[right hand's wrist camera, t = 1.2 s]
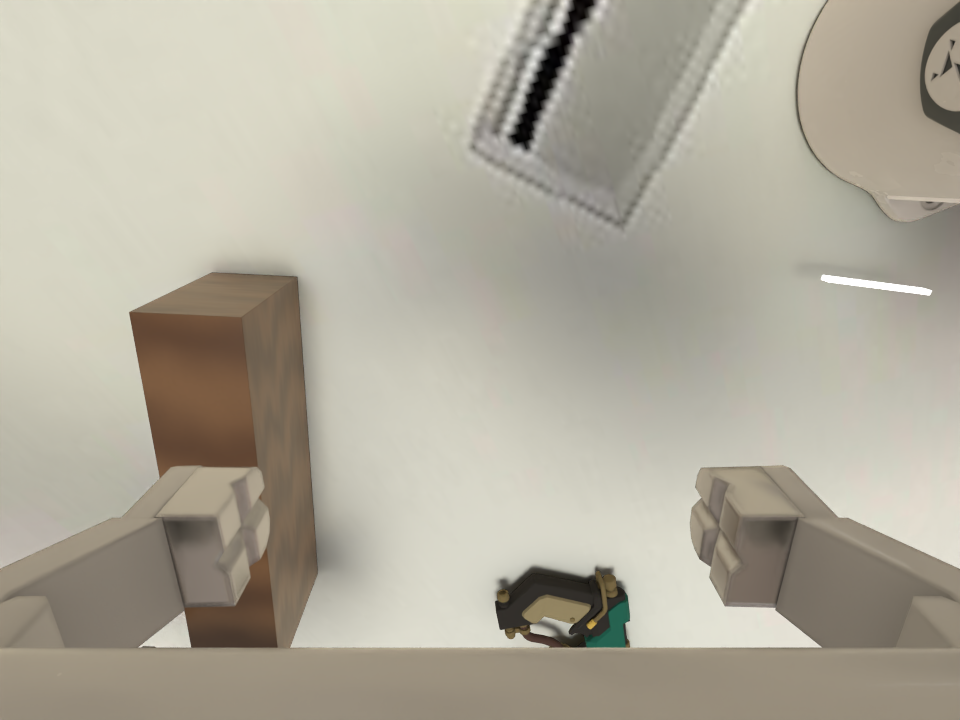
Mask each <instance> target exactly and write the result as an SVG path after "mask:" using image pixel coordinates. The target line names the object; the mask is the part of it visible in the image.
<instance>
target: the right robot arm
mask: <svg viewBox="0 0 960 720" xmlns="http://www.w3.org/2000/svg"><path fill="white" fill-rule="evenodd" d="M798 109H799V116H800V121H801V125H802V129H803V132H804V134H805V137H806V139H807V141H808V144H809V146H810V147H811V149H812V151H813V152H814V154H815V155H816V157H817V158H818V159H819V160H820V162H821V163H822V164H823V165H824V166H825V167H826V168H827V169H828V170H830V171H831V172H832V173H833V174H835V175H836V176H838V177H839V178H841V179H843V180H844V181H846V182H849V183H851V184H853V185H855V186H858V187H860V188H862V189H864V190H865V191H867V192H868V193H870V194H871V195H872V197H873V198H874V200H875V201H876V202H877V204H878V205H879V207H880V208H881V209H882V210H883V212H884V213H885V214H886V215H887V216H888V217H889V218H891V219H892V220H894V221H901V222H912V221H916V220H919V219H922V218H925V217H927V216H930V215H932V214H935V213H937V212H940V211H942V210H945V209H947V208H950V207H953V206H955V205H958V204H960V0H828V2H827V3H826V5H825V6H824V8H823V10H822V11H821V13H820V15H819V17H818V18H817V20H816V22H815V25H814V27H813V29H812V31H811V33H810V36H809V38H808V41H807V44H806V47H805V50H804V53H803V57H802V61H801V66H800V72H799V79H798ZM821 280H824V281H826V282H831V283H839V284H847V285H855V286H862V287H870V288H878V289H886V290H893V291H901V292H909V293H916V294H924V295H930V294H931V290H928V289H925V288H919V287H911V286H904V285H896V284H888V283H881V282H873V281H865V280H858V279H850V278H842V277H835V276H827V275H823V276H822V278H821ZM264 488H265V486H264V481H263V476H262V472H261V471H260V470H259V469H258V468H257V467H239V466H201V465H197V466H175V467H171V468H170V469H169V470H168V471H167V472H166V473H165V474H164V475H163V476H162V477H161V478H160V479H159V480H158V481H157V482H156V483H155V484H154V485H153V486H152V487H151V488H150V489H149V490H148V491H147V492H146V493H145V494H144V495H143V496H142V497H141V498H140V499H139V500H138V501H137V502H136V503H135V504H134V505H133V506H132V507H131V508H130V509H129V511H128V512H127V513H126V514H125V515H124V516H123V517H122V518H111V519H109V520H107V521H104V522H102V523H100V524H98V525H96V526H93V527H91V528H89V529H87V530H85V531H82V532H80V533H78V534H76V535H74V536H71V537H69V538H67V539H65V540H63V541H60V542H58V543H56V544H54V545H52V546H49V547H47V548H45V549H43V550H41V551H38V552H36V553H34V554H32V555H30V556H27V557H25V558H23V559H21V560H19V561H16V562H14V563H12V564H10V565H8V566H5V567H3V568H1V569H0V720H960V569H959V568H956V567H954V566H952V565H950V564H948V563H945V562H943V561H941V560H939V559H937V558H935V557H932V556H930V555H928V554H926V553H924V552H921V551H919V550H917V549H915V548H913V547H910V546H908V545H906V544H904V543H902V542H899V541H897V540H895V539H893V538H891V537H888V536H886V535H884V534H882V533H880V532H878V531H875V530H873V529H871V528H869V527H867V526H864V525H862V524H860V523H858V522H856V521H853V520H851V519H849V518H838V517H837V516H836V515H835V514H834V513H833V511H832V510H831V509H830V508H829V507H828V506H827V505H826V504H825V503H824V502H823V501H822V500H821V499H820V498H819V497H818V496H817V495H816V494H815V493H814V492H813V491H812V490H811V489H810V488H809V487H808V486H807V485H806V484H805V483H804V482H803V481H802V480H801V479H800V478H799V477H798V476H797V475H796V474H795V473H794V472H793V470H792V469H791V468H789V467H786V466H784V465H775V466H750V467H710V468H701V469H700V471H699V473H698V475H697V480H696V486H695V488H696V489H697V491H698V493H699V494H700V496H701V499H700V500H699V501H698V502H697V503H696V504H695V505H694V506H693V507H692V510H691V518H690V531H691V539H692V543H693V546H694V549H695V551H696V553H697V555H698V557H699V559H700V560H701V561H703V562H704V563H706V564H707V565H709V566H710V567H711V571H710V576H709V578H710V580H711V581H712V583H713V585H714V587H715V589H716V591H717V593H718V594H719V596H720V598H721V600H722V602H723V604H724V605H725V606H732V607H769V608H776V609H775V610H776V611H777V612H779V613H780V614H781V615H782V616H784V617H785V618H786V619H787V620H789V621H790V622H791V623H792V624H794V625H795V626H796V627H797V628H799V629H800V630H801V631H802V632H804V633H805V634H806V635H807V636H809V637H810V638H811V639H812V640H814V641H815V642H816V643H817V644H819V645H820V646H821V647H822V648H138V647H139V646H140V645H141V644H143V643H144V642H145V641H146V640H148V639H149V638H150V637H152V636H153V635H154V634H155V633H157V632H158V631H159V630H160V629H162V628H163V627H164V626H165V625H167V624H168V623H169V622H170V621H172V620H173V619H174V618H175V617H177V616H178V615H179V614H180V613H182V612H183V611H184V608H191V607H226V606H236V604H237V602H238V600H239V598H240V596H241V594H242V593H243V591H244V589H245V587H246V585H247V583H248V581H249V580H250V578H251V576H250V571H249V567H250V566H251V565H253V564H254V563H256V562H257V561H259V560H260V559H261V557H262V555H263V553H264V551H265V549H266V546H267V542H268V538H269V533H270V516H269V510H268V507H267V506H266V505H265V504H264V503H263V502H262V501H261V500H260V499H259V496H260V494H261V493H262V491H263V489H264Z"/></svg>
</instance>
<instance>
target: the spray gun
mask: <svg viewBox="0 0 960 720" xmlns="http://www.w3.org/2000/svg"><path fill="white" fill-rule="evenodd" d="M595 575H596V581H595V580H592V579H591V580H590V581H589V584H585V583H580V582H576V581H571V580H566V579H561V578H556V577H551V576H545V575H540V574H535V573H533V574H531V575H530V576H529V577H528V578H527V579H526V580H525V581H524V582H523V583H522V584H521V585H520V586H519V587H518V588H516V589H515V590H514V591H513V592H512V593H511V594H510V595H509V593H508V591H507V590H505V589H502V590H499V591H498V593H497V599H498V601H495V606H496V613H497V618H498V623H499V628H500V630H503V629H505V634H506V636H507V637H508V638H509V639H513V638H514V637H515V633H519V632H520V634H522V635H523V637H524V638H525V639H526V640H528V641H531V642H536V643H542V644H545V645H549V646H550V647H549V648H571V647H570V646H569V645H568V644H565V643H560V642H559V641H558V640H556V639H553V638H551V637H548V636H544V635H539V634H533V633H531V632H530V625H531V624H533V623H538V622H539V621H540V620H541V619H542V618H543V617H544V616H545V617H549V618H552V619H556V620H559V621H563V622H567V623H570V624H574V625H573V626H572V627H571V628H570V630H569V634H571V635H573V634H574V633H581V634H582V635H584V638H585V641H584V642H582V643H581V644H579V645H578V646H577V647H575V648H630V643H629V640H628V639H627V636H626V628H625V623H626V622H628V621H630V612H629V603H628V596H627V594H626V593H625V591H624V590H623V589H622V588H620V587H616V578H615V576H614V575H611V574H607V575H605V576H603V578H602V576H601V573H600V571H597V572H596V573H595Z"/></svg>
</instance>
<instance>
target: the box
mask: <svg viewBox="0 0 960 720" xmlns="http://www.w3.org/2000/svg"><path fill="white" fill-rule="evenodd" d="M129 314H130V319H131V325H132V330H133V336H134V341H135V346H136V352H137V357H138V362H139V368H140V373H141V379H142V384H143V389H144V395H145V400H146V405H147V411H148V416H149V422H150V427H151V432H152V438H153V443H154V449H155V454H156V459H157V465H158V470H159V475H160V478H161V477H162V476H163V475H164V474H165V473H166V472H167V471H168V470H169V469H170V468H171V467H175V466H197V465H201V466H239V467H257V468H258V469H259V470H260V471H261V472H262V476H263V481H264V486H265V488H264V489H263V491H262V493H261V494H260V496H259V499H260V500H261V501H262V502H263V503H264V504H265V505H266V506H267V507H268V510H269V516H270V533H269V538H268V542H267V546H266V549H265V551H264V553H263V555H262V557H261V559H260V560H259V561H257V562H256V563H254V564H253V565H251V566H250V567H249V571H250V576H251V578H250V580H249V581H248V583H247V585H246V587H245V589H244V591H243V593H242V594H241V596H240V598H239V600H238V602H237V604H236V606H226V607H191V608H184V610H185V615H186V621H187V626H188V632H189V637H190V642H191V648H290V646H291V644H292V641H293V638H294V635H295V633H296V630H297V627H298V625H299V622H300V619H301V617H302V614H303V611H304V609H305V606H306V603H307V601H308V598H309V595H310V593H311V590H312V587H313V585H314V582H315V579H316V577H317V574H318V571H317V556H316V542H315V528H314V513H313V499H312V485H311V470H310V456H309V442H308V427H307V413H306V399H305V384H304V370H303V356H302V341H301V327H300V313H299V298H298V284H297V277H291V276H271V275H250V274H230V273H210V274H208V275H206V276H204V277H202V278H199V279H197V280H195V281H193V282H191V283H189V284H187V285H185V286H183V287H181V288H179V289H177V290H174V291H172V292H170V293H168V294H166V295H164V296H162V297H160V298H158V299H156V300H154V301H152V302H149V303H147V304H145V305H143V306H141V307H139V308H137V309H135V310H133V311H131V312H129Z"/></svg>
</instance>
